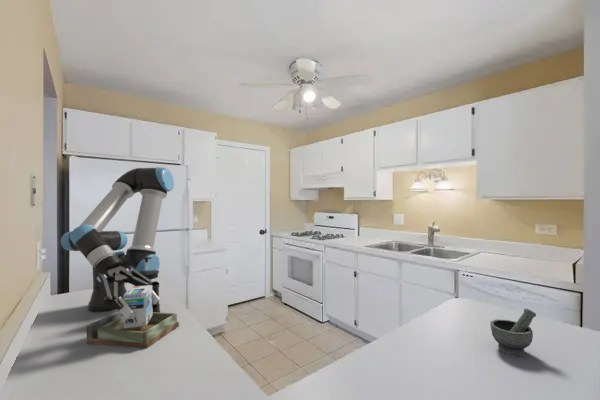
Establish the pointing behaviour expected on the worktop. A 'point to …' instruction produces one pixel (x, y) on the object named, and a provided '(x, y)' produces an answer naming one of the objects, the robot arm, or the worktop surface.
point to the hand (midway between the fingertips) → (144, 308)
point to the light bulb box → (139, 306)
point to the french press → (155, 285)
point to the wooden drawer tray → (130, 330)
